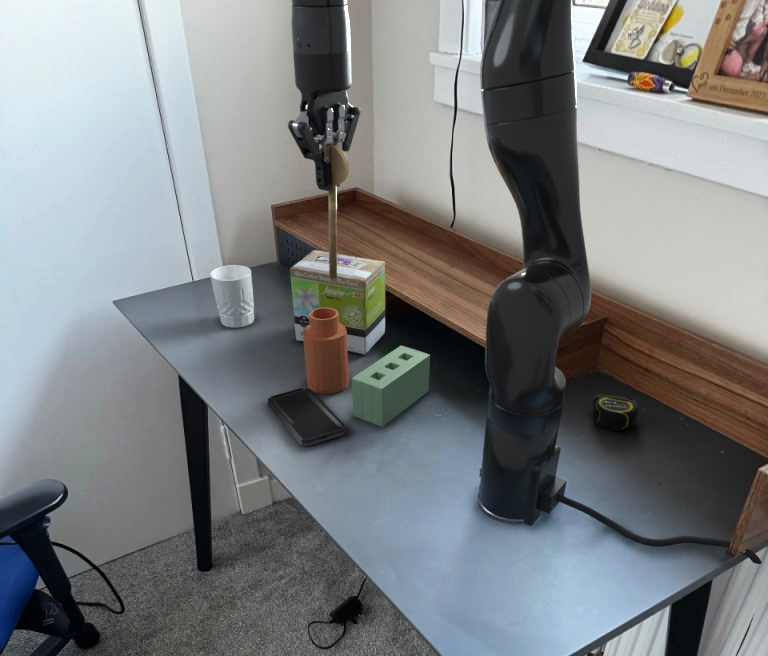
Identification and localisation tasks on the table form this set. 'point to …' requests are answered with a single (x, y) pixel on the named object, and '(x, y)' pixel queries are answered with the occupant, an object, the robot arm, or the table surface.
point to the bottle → (326, 352)
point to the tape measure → (615, 411)
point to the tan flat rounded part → (335, 203)
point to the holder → (390, 385)
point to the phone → (306, 416)
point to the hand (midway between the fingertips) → (329, 187)
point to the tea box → (342, 296)
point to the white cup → (233, 295)
